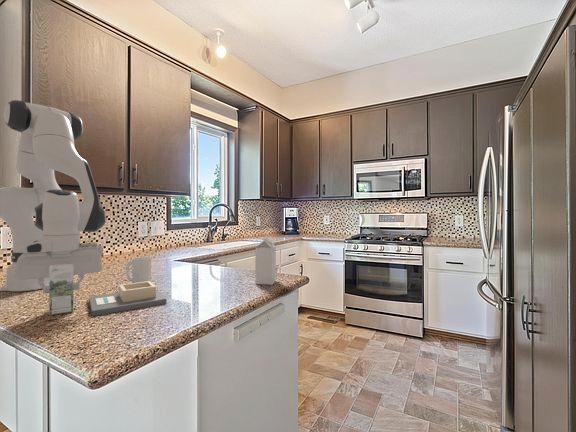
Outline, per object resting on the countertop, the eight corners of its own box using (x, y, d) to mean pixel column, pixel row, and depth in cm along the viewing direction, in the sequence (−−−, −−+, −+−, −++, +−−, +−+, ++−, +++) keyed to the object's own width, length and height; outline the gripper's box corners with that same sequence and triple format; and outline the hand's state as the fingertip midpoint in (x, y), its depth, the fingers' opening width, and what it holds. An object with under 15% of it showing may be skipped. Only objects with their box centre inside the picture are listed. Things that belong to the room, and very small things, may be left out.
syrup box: (73, 307, 91) (73, 260, 91) (73, 312, 86) (73, 263, 86) (50, 310, 88) (49, 262, 88) (48, 316, 83) (48, 265, 83)
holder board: (89, 300, 98) (88, 285, 98) (153, 291, 109) (153, 278, 109) (92, 316, 83) (92, 298, 83) (166, 303, 95) (166, 288, 95)
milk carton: (255, 284, 120) (255, 238, 120) (259, 280, 128) (259, 236, 127) (272, 285, 119) (272, 238, 119) (275, 281, 126) (275, 237, 126)
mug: (155, 287, 116) (155, 256, 116) (143, 291, 109) (143, 259, 109) (132, 286, 118) (132, 256, 118) (120, 290, 111) (119, 258, 111)
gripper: (102, 241, 96) (102, 284, 96) (17, 245, 83) (17, 294, 83) (103, 243, 90) (104, 288, 91) (13, 247, 78) (13, 299, 78)
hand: (61, 291), depth 87 cm, fingers closed on syrup box, 6 cm apart
